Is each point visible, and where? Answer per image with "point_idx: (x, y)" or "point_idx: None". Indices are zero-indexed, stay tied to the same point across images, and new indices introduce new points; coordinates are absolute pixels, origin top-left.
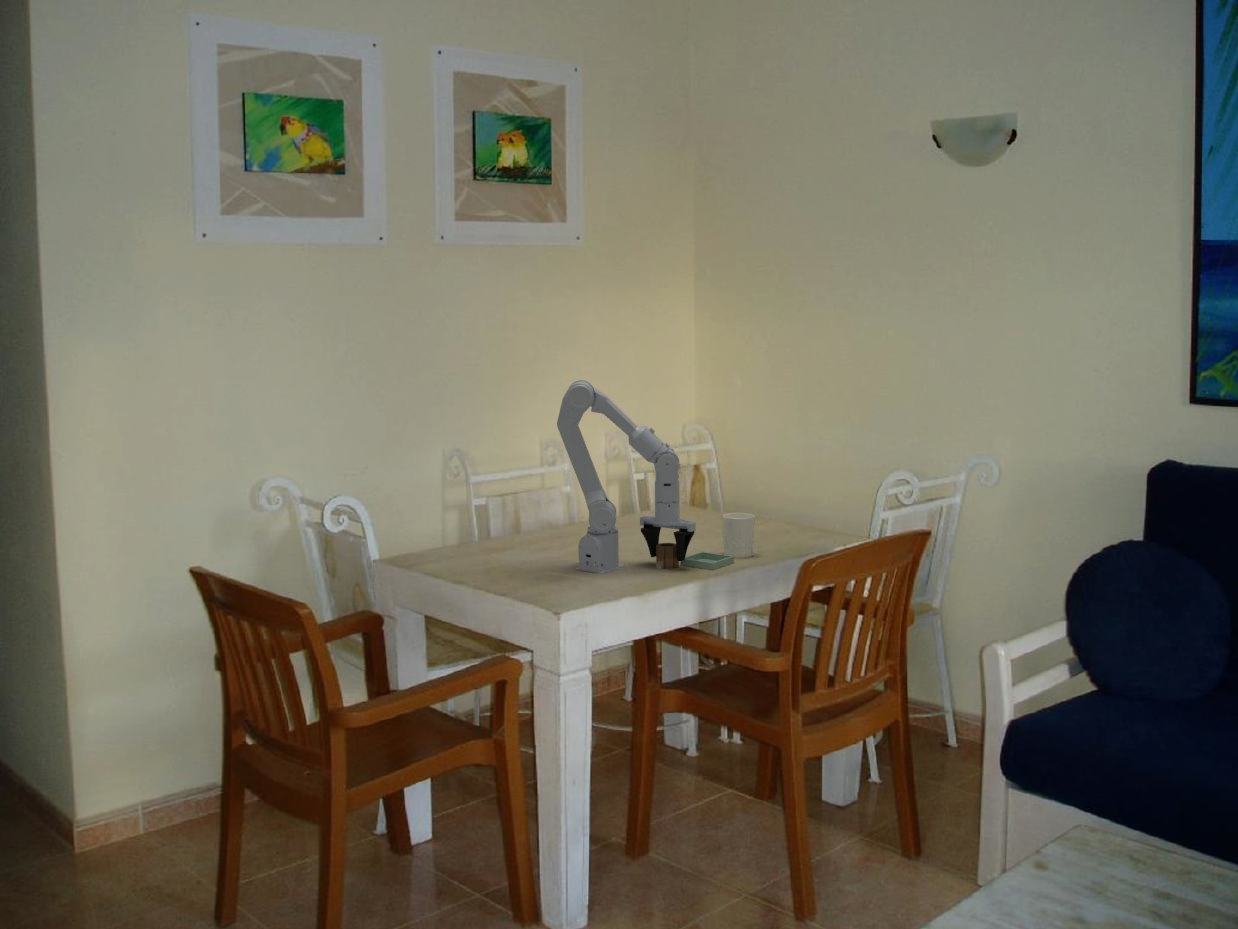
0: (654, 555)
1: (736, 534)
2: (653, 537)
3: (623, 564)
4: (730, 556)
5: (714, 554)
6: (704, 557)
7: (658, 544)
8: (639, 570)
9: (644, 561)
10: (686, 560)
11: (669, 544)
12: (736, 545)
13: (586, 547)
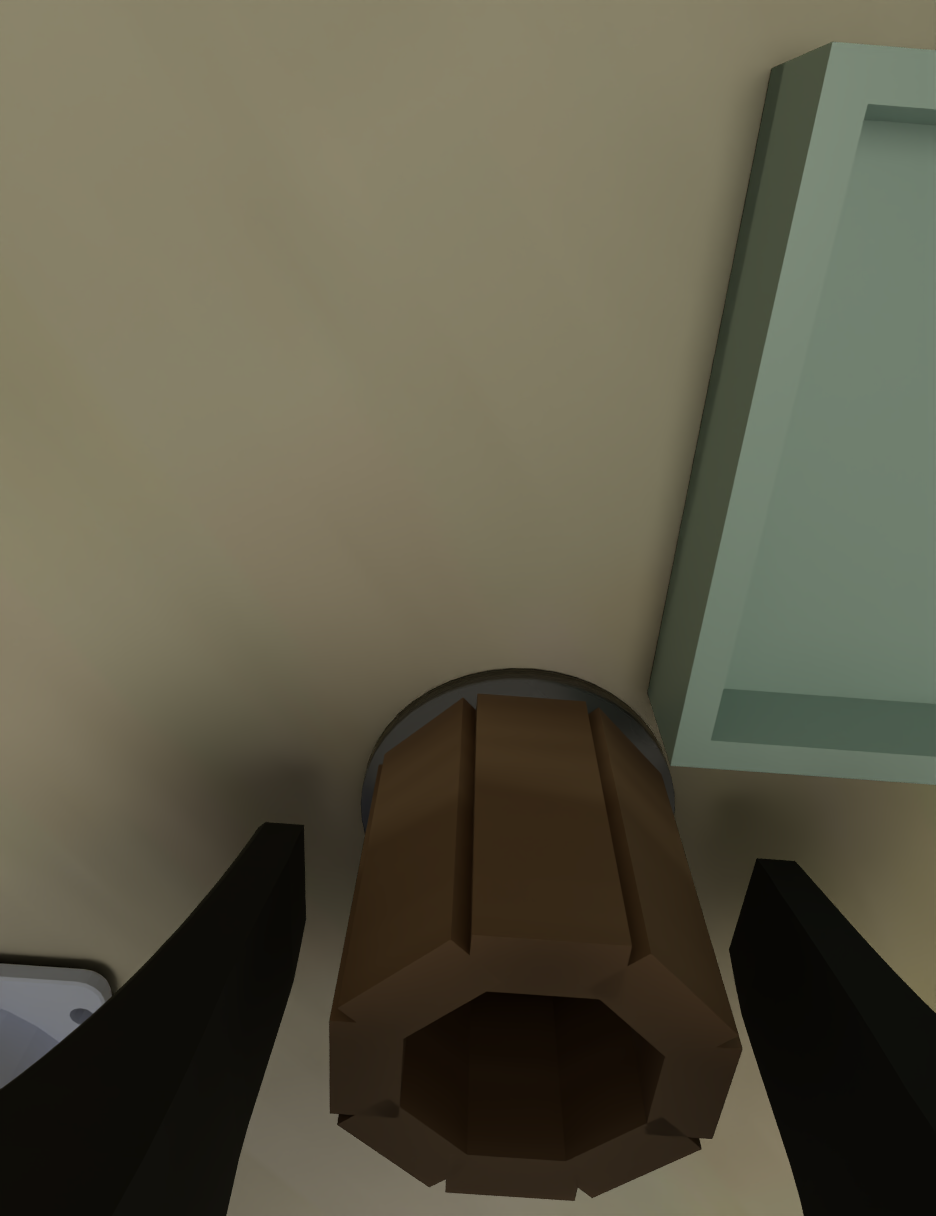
0: (299, 907)
1: None
2: (204, 1210)
3: (56, 990)
4: None
5: None
6: (874, 114)
7: (363, 1104)
8: (310, 998)
9: (33, 647)
10: (776, 761)
11: (497, 975)
12: None
13: None
